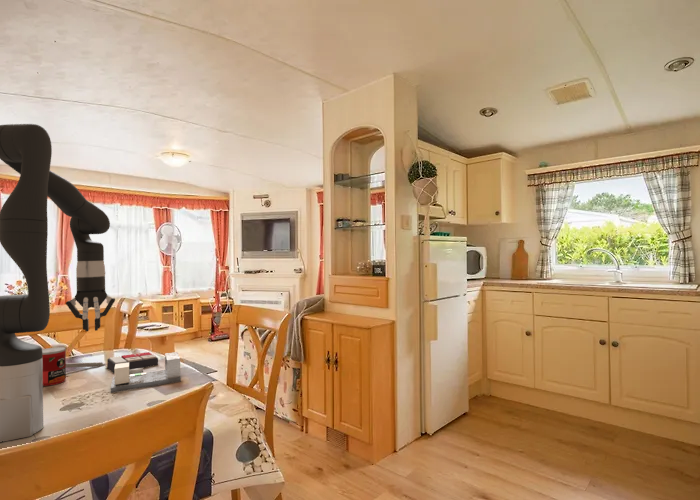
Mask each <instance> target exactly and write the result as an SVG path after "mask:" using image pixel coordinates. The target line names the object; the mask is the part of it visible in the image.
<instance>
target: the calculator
mask: <svg viewBox="0 0 700 500" xmlns="http://www.w3.org/2000/svg"><path fill="white" fill-rule="evenodd" d="M128 362H129V370H130V369H137V368H143V367H144V368H149V367H154V366H158V365H159V358H158V357H157V356H156V355H154V354H152V353H151V352H150V351H149V352H147V351H146V352H141V353H131V354H124V355H121V356H114V357H111V356H110V357H109V358H107V364H106V366H107V367H106V368H107V369H108V370H109V371H111V372H112V373H113V374H114V368H115V364H120V363H128ZM153 365H154V366H153ZM148 366H149V367H148ZM144 368H143V369H144Z"/></svg>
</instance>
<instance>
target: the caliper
mask: <svg viewBox="0 0 700 500" xmlns="http://www.w3.org/2000/svg"><path fill="white" fill-rule="evenodd" d="M102 366H107V364H106V363H104V362H102V361H100V362H98V361H97V362H69V363H68V362H66V369H68V368H71V369H72V368H96V367H97V368H99V367H102Z"/></svg>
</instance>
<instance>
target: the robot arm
mask: <svg viewBox="0 0 700 500" xmlns="http://www.w3.org/2000/svg"><path fill="white" fill-rule="evenodd" d="M52 148H53V147H52V141H51V138H50V135H49V133H48V131H47V130H46V129H45V128H44V127H43V126H42V125H40V124H38V123H37V124H36V123H20V124H19V123H15V124H13V123H12V124H11V123H9V124H8V123H7V124H0V160H1V161H2V162H3V163H5V164H6V165H7V166H8V167H10V168H12V170H14V171H15V172H17V173H18V174H19V175H20V176H19V179H18V182H17V184H16V185H15V187H14V188H13V190H12V191H11V193H10V194H9V196H8V197H7V199H6V200H5V202H4V203H3V204H2V207H1V209H0V245H1V247H2V249H3V250H4V251H5V252H6V254H7V255H8V256H9V258H11V259H12V260H13V262H14V263H15V264H16V266H17V267H18V269H20V271H21V273H22V275H23V277H24V279H25V281H26V286H27V294H26V293H25V294H7V295H0V443H2V441H3V442H7V441H12V440H17V439H23V438H29V437H31V436H33V434H35V433H38V432H39V431H41V430H42V429H43V428H44V426H45V425H44V386H43V361H42V349H43V348H42V347H41V346H40V345H38V344H34V343H30V342H27V341H24V340H21V339H20V338H18V336H17V335H16V334H23V333H24V334H25V333H35V332H36V333H37V332H42V331H44V330H45V329H47V326H48V324H49V321H50V317H51V316H50V311H51V310H50V309H51V307H50V293H49V282H48V269H47V268H48V263H47V259H48V256H47V255H48V252H47V251H48V235H49V233H48V227H49V226H48V225H49V224H48V222H49V221H48V198H49V199H50V200H51V201H52V202H53V203H54V205H55V206H56V207H57V208H59V210H60V211H61V212H62V213H64V215H66V216H68V217H70V219H69V228H70V232H71V234H72V237H73V241H74V244H75V246H76V247H75V248H76V272H75V273H76V276H75V277H76V278H75V279H76V294H75V296H74V298H72V299H70V300H67V301H66V302H65V305H66V306H67V307H68V309H69V310H70V312H71V313H72V314H73V315H74V317H75V318H76V319H81V320H82V329H83V331H85V332H89V329H90V327H89V325H90V324H89V322H90V321H89V318H88V317H89V311H90V310H89V309H90V308H93V309H94V315H95V317H94V331H98V330H99V329H100V328H101V318H103V317H106V316H107V315H108V313H109V311H110V310H111V308H112V306H113V305H114V303H115V301H116V298H115V297H111V296H109V295H108V294H107V291H106V267H105V255H104V252H105V251H104V245H103V243H101V242H97V241H93V240H92V238H91V236H90V235H101V234H105V233H107V232H108V231H109V229H110V226H111V222H110V219H109V216H108V215H107V214H106V213H105V212H104V211H103V210H102V209H101V208H100V207H98V206H96V205H95V204H94V203H92V202H91V201H89V200H88V199H86V197H85V196H84V195H83V194H82V193H81V191H79V190H80V189H78V188H77V187H76V186H75V185H74V184H73V183H71V181H69V180H68V179H66V178H65V177H63V176H61V175H60V174H58V173H55V172H53V171H52V170H51V164H52V154H53V152H52V151H53V150H52ZM105 300H106V307H105V308H104V310H103V311H102V312H101V305H102V304H103V302H104V301H105ZM77 303H78V304H79V305H80V306H81V307H82V313H81V312H80V311H79V310H78V308H77V307H76V305H77Z"/></svg>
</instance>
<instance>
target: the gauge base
mask: <svg viewBox="0 0 700 500" xmlns="http://www.w3.org/2000/svg"><path fill="white" fill-rule="evenodd" d="M164 361H165V362H164V367H165V369H162V370H155V371H148V372H143V373H137V374H131V375H129V383H122V384H116V385H115V376H114V377H112V379H111V384H110V393H111V394H112V393H119V392H124V391H125V392H126V391H129V390H130V391H131V390H137V389H143V388H149V387H156V386H162V385H167V384H168V385H169V384H173V383H180V382H182V377H181V356H180V354H179V352H178V351H175V352H166V353H164Z"/></svg>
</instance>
